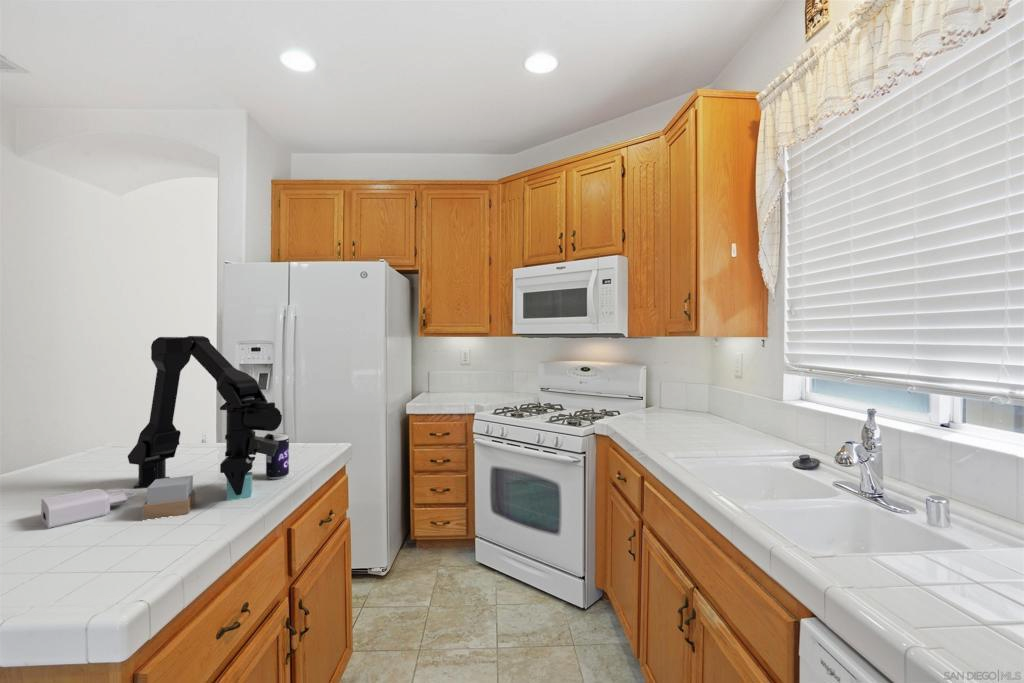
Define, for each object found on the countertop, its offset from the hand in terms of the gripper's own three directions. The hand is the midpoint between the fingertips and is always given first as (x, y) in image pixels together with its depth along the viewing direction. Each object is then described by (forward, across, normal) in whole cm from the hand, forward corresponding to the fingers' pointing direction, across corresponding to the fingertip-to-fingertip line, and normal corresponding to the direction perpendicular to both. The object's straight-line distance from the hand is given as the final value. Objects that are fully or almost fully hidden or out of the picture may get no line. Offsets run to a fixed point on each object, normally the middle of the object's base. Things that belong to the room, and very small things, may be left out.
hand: (239, 491), depth 112 cm
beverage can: (+1, +13, -8) cm, 15 cm away
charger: (+2, +1, +28) cm, 28 cm away
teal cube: (+1, 0, 0) cm, 1 cm away
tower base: (+1, -5, +13) cm, 14 cm away
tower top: (-2, -5, +13) cm, 14 cm away
